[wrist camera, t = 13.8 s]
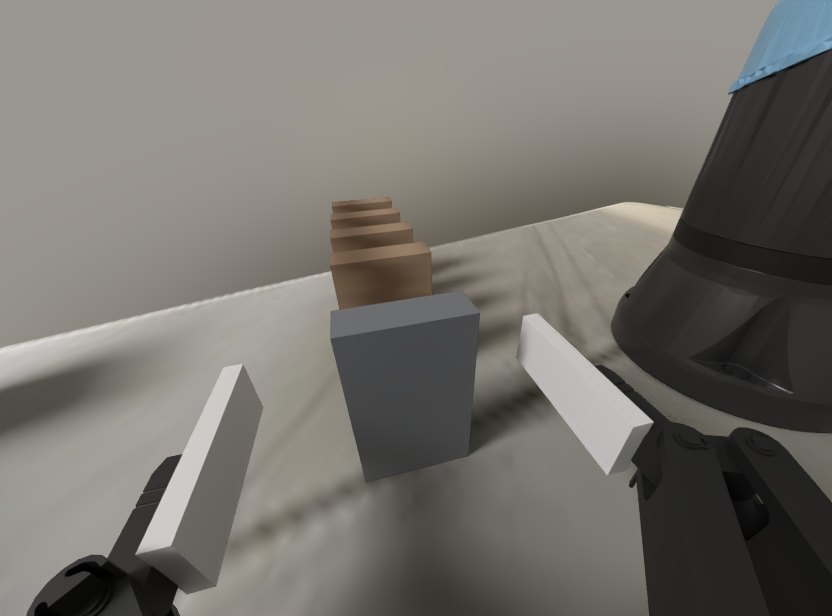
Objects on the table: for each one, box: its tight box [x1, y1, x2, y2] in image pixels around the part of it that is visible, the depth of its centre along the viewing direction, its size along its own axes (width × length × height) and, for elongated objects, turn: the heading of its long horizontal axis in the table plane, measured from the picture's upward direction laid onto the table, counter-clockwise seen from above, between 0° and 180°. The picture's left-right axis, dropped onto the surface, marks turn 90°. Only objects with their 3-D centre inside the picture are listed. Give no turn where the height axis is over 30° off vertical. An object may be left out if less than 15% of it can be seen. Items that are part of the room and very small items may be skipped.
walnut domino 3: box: [330, 222, 413, 253], centre depth 25 cm, size 6×2×10 cm, turn 103°
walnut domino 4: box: [330, 242, 432, 310], centre depth 21 cm, size 6×2×10 cm, turn 103°
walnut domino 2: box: [331, 208, 400, 230], centre depth 29 cm, size 6×2×10 cm, turn 103°
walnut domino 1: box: [332, 197, 392, 214], centre depth 34 cm, size 6×2×10 cm, turn 103°
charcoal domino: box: [330, 290, 480, 482], centre depth 15 cm, size 6×2×10 cm, turn 103°
